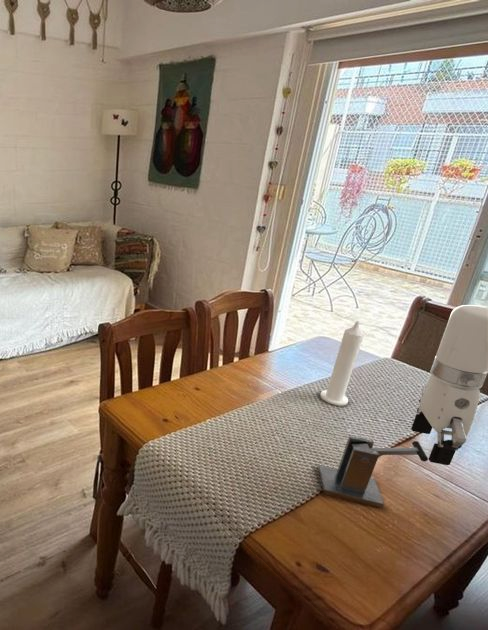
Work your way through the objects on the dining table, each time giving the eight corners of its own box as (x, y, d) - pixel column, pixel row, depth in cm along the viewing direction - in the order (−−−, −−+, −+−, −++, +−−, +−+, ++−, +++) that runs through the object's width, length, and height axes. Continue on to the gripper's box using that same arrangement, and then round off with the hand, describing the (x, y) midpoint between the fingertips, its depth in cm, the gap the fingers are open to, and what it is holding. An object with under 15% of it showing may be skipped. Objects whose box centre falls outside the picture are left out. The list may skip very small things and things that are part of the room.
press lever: (419, 448, 90) (418, 438, 90) (428, 464, 86) (427, 454, 85) (351, 448, 95) (350, 439, 95) (356, 464, 91) (355, 454, 90)
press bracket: (372, 481, 98) (388, 439, 93) (382, 508, 91) (400, 464, 86) (317, 468, 101) (330, 427, 97) (323, 493, 94) (337, 450, 90)
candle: (324, 389, 133) (347, 313, 123) (350, 399, 128) (376, 321, 118) (316, 398, 128) (339, 320, 118) (343, 408, 124) (369, 328, 114)
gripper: (508, 400, 72) (472, 481, 79) (462, 354, 87) (434, 425, 94) (452, 392, 74) (422, 471, 81) (417, 348, 89) (393, 418, 96)
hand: (428, 446), depth 87 cm, fingers open, 9 cm apart
